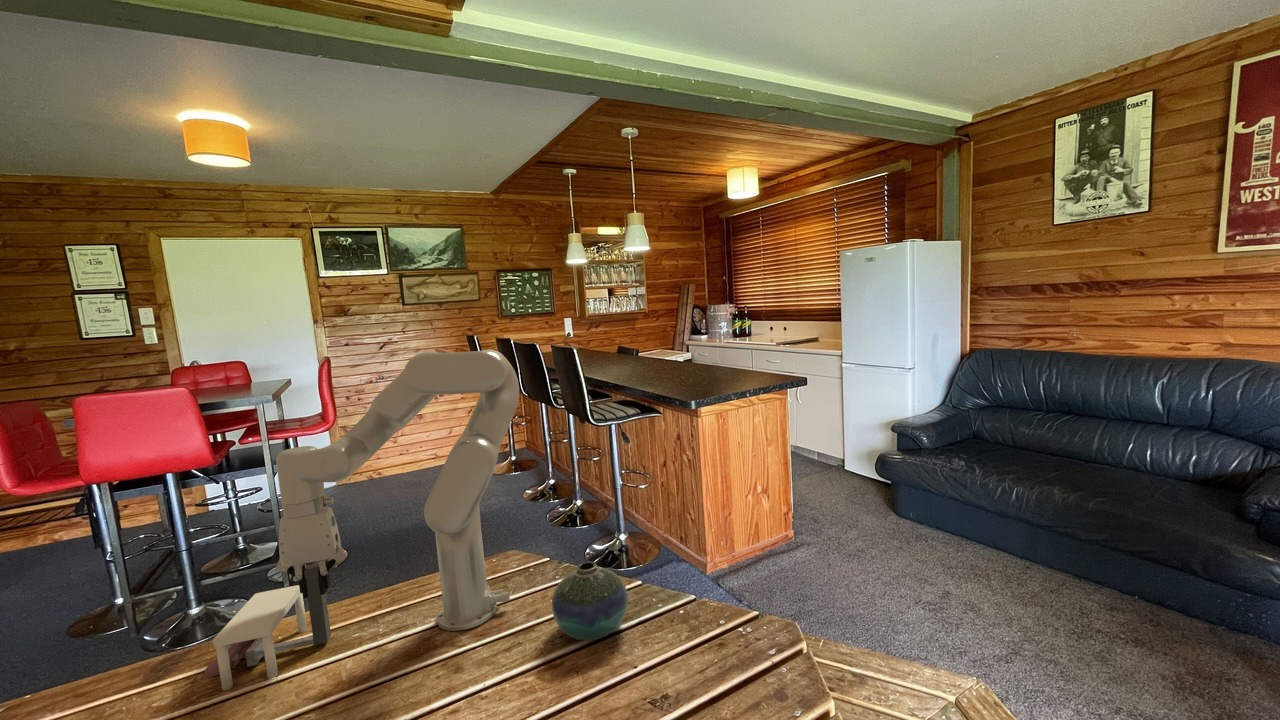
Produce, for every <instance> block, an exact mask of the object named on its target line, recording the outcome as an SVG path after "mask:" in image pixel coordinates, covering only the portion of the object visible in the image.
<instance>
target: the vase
mask: <svg viewBox="0 0 1280 720" xmlns="http://www.w3.org/2000/svg"><path fill="white" fill-rule="evenodd" d="M628 599H629V598H628V590H627V588H626V584H625V583H624V581H623V580H622V578H621V577H620V576H619V575H617V574H616V573H615V572H613V571H612V570H609V569H607V568H604V567H601V566H597V563H595V562H593V561H584V562H581V563H580V564H578V565H577V566H576V569H575V570H573V571H571V572H570V573H569V574H568V575H566V576H565V577H564V578H563V579H561V580H560V582H559V583H558V584H557V586H556V587H555V589H554V592H553V594H552V599H551V612H552V615H553V618H554V621H555V623H556V624H557V626H558V628H559V629H560V630H561V631H562V632H563V633H564V634H565V635H567V636H568V637H570V638H573V639H576V640H580V641H594V640H598V639H601V638H604V637H606V636H608V635H610V634H612V633H613V632H614V631H615V630H616V629H617V628H618V627H620V625H621V623H622V621H623V620H624V617H625V616H626V612H627V610H628V609H627V608H628V604H629V602H628Z"/></svg>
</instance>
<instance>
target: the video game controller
mask: <svg viewBox="0 0 1280 720" xmlns="http://www.w3.org/2000/svg"><path fill="white" fill-rule="evenodd" d="M254 641H255V639H252V640H247V641H242V642H238V643H233V644H228V645H227V648H228V655H229V662H230V669H234V668H235V667H236V666H237V665H238V663H240V661H241V659H242V658H243V659H246V651H247V650H248V648H249V647H250V646H251V644H252V643H253V642H254ZM204 675H205V677H207V678H213V677H217V676H218V675H220V672H219V665H218V659H217V656H216V657H215V658H214V660H213V661H211V663H209V664H208V665H207V666H206V668H205V670H204Z"/></svg>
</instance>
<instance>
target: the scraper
mask: <svg viewBox="0 0 1280 720" xmlns="http://www.w3.org/2000/svg"><path fill="white" fill-rule="evenodd" d="M304 574H305V580H306V587H307V595H308V597H307V605H308V608H309V609H308V611H309V616H310V617H309V618H310V626H311V633H312V635H311V636H310V635H309V636H306V637H301V638H296V639H292V640H287V641H283V642H278V643H274V649H275V653H278V652H283V651H288V650H293V649H297V648H301V647H305V646H310V645H314V646H315V645H320V644H325V643H328V642H329V640H330V638H331V637H332V632H331V631H332V630H331V623H330V617H329V610H328V601H327V600H328V599H327V592H326V593H325V594H324V595H320V589H319V581H318V577H319V576H320V568H319V563H318V562H316V563H310V564H308V565H306V568H305V570H304ZM263 656H265V655H264V648H263V641H262V637H261V638H256V639H255V641H254V642H253V643H252V644H251V646H250V647H249V648H248V650H247V651H246V658H245V659H246V664H247V667H253V666H256V665H258V663H259V662H260V660H261V659H262V658H263Z"/></svg>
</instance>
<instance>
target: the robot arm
mask: <svg viewBox="0 0 1280 720" xmlns="http://www.w3.org/2000/svg"><path fill="white" fill-rule="evenodd" d="M518 379H519V378H518V376H517V373H516V370H515V369H514V367H513V366H512V364H511V363H510V362H509V360H508V359H507V357H505V356H504V354H503V353H501V352H499V351H498V350H494V349H492V348H491V349H482V350H476V351H473V350H472V351H461V352H460V351H458V352H454V351H453V352H437V351H424V352H421V353H418V354H415V355H414V356H412V357H411V358H410V359H409V360H408V361H407V363H406V365H405V366H404V370H402V371H401V372H400V373H399V374H398V375H397V376H396V377H395V378H394V379H393V380H392V381H391V382H390V383H389V384H388V385H386V386H385V387H384V389H382V391H380V392H379V393H378V394H377V395H375V397H374V398H373V400H372V401H371V404H370V407H369V409H368V410H367V412H366V413H365V414H364V416H362V418H360V419H359V420H358V421H357V423H355V424H354V425H353V426H352V427H351V428H350V429H349V430H347V432H346V433H345V434H344V435H342V436H341V437H340V438H339V439H337V440H336V441H334V442H332V443H330V444H329V445H327V446H324V447H322V448H317V447H315V446H313V445H304V446H298V447H292V448H287V449H284V450H283V451H280V452H279V453H278V454H277V456H276V460H275V461H276V463H275V464H276V470H277V478H278V486H279V493H280V500H281V501H280V502H281V507H282V508H281V509H282V515H283V516H282V517H281V518H280V521H279V528H278V529H279V530H278V550H279V551H278V552H279V559H278V562H277V564H276V567H275V570H276V571H278V572H282V573H288V574H289V575H291V576H292V577H294V578H295V580H296V581H298V585H299V588H300V593H302V595H303V599H308V595H307V587H306V580H305V574H304V570H305V568H306V567H307V564H308V565H309V564H314V563H319V568H320V576H319V577H318V581H319V589H320V595H324V594H325V593H326V594H327V591H328V590H329V588H331V584H332V583H331V577H330V570H331V569H332V568H333V567H334V566H335V565H336V564H337V563H339V562H341V561H342V560H344V559H345V558H346V557H347V555H348V554H347V552H346V551H345V549H344V548H343V546H342V544H341V536H340V532H339V527H338V523H337V520H336V517H335V514H334V511H333V508H332V507H328V506H330V505H332V504H333V505H334V503H335V502H334V501H335V500H334V497H330V496H329V497H328V496H327V494H326V493H325V491H326V490H325V486H324V485H325V484H324V483H336V482H337V483H338V482H341V481H344V480H346V479H348V478H349V477H351V476H352V475H353V474H354V473H355V472H356V471H358V470H359V469H361V467H363V466H364V465H365V464H366V463H367V462H368V461H369V460H370V459H371V458H372V457H373V456H374V455H375V454H376V453H377V452H378V451H379V450H380V449H381V448H382V447H383V446H385V444H386V443H387V442H388V441H390V439H391V438H392V437H394V435H396V434H397V433H398V432H399V431H401V430H403V429H404V428H405V427H406V426H407V425H408V424H409V423H410V422H411V421H412V420H413V419H414V418H415V417H416V416H417V415H418V414H419V413H420V412H421V411H422V410H423V409H424V408H425V407H426V406H428V404H429V403H430V402H432V401H433V399H435V398H436V397H437V396H438V395H439V396H443V395H444V396H447V395H459V394H461V395H462V394H475V393H478V394H479V397H478V399H477V402H476V404H475V406H474V408H473V410H472V413H471V416H470V417H469V420H468V422H467V424H466V426H465V428H464V429H463V431H462V433H461V435H459V438H458V439H457V440H456V442H455V443H454V445H453V446H452V448H451V450H450V452H449V454H448V455H447V458H446V460H445V462H444V464H443V466H442V468H441V471H440V473H439V475H438V477H437V479H436V481H435V483H434V485H433V487H432V489H431V492H430V493H429V496H428V497H427V499H426V501H425V504H424V508H423V512H424V513H423V516H424V519H425V520H424V521H425V523H426V525H427V526H428V528H430V529H431V531H433V532H434V533H435V544H436V553H437V554H436V555H437V562H438V564H437V565H438V570H439V571H438V573H439V581H440V591H441V597H442V605H443V608H441V610H440V611H439V612H438V614H437V616H436V621H437V625H438V627H439V628H440V629H442V630H445V631H449V632H450V631H451V632H457V631H458V632H459V631H465V630H469V629H473V628H475V627H477V626H480V625H482V624H484V623H485V622H487V621H489V620H490V619H491V618H492V617H493V616H494V615H495V613H496V611H497V609H498V605H497V604H498V603H504V602H505V603H506V602H508V601H511V600H510V599H511V597H510V592H509V590H508V591H504V588H500V589H497V590H493V589H490V584H488V582H487V571H486V570H487V569H486V563H485V553H484V545H483V541H484V540H483V535H482V524H481V510H480V502H481V500H482V498H483V496H484V494H485V492H486V489H487V487H488V485H489V483H490V480H491V478H492V477H493V474H494V471H495V469H496V466H497V462H498V457H499V456H498V455H499V451H500V448H501V445H502V444H503V442H504V439H505V437H506V435H507V433H508V430H509V428H510V425H511V423H512V421H513V418H514V416H515V413H516V411H517V407H518V404H519V401H520V400H519V399H520V385H519V380H518Z"/></svg>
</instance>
